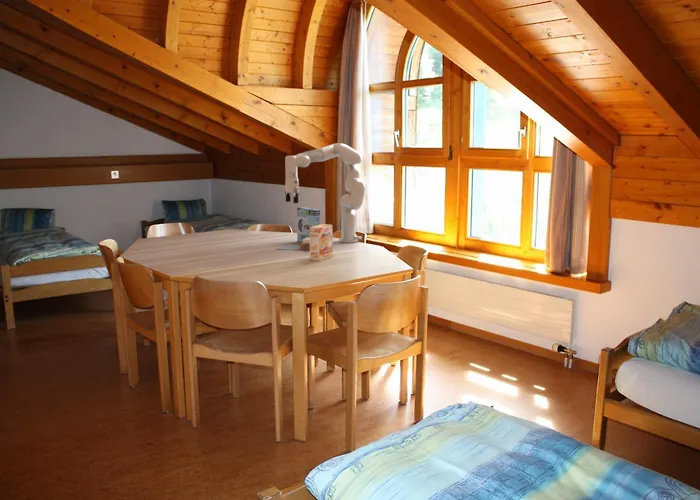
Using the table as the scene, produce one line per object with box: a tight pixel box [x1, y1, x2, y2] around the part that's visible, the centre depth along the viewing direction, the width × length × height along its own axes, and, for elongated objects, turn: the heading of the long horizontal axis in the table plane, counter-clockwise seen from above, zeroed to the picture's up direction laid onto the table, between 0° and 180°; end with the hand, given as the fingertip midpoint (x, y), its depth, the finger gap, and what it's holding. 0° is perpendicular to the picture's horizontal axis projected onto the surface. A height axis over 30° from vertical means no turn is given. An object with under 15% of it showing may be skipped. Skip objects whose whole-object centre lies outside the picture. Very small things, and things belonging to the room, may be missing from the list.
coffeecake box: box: [309, 223, 333, 262], centre depth 397 cm, size 15×7×20 cm, turn 151°
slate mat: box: [276, 244, 301, 251], centre depth 433 cm, size 15×16×1 cm
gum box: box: [296, 206, 321, 243], centre depth 449 cm, size 20×5×23 cm, turn 39°
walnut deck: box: [299, 242, 310, 252], centre depth 430 cm, size 9×14×4 cm, turn 165°
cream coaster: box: [302, 238, 310, 244], centre depth 429 cm, size 8×8×2 cm
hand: (292, 202), depth 431 cm, fingers open, 9 cm apart
